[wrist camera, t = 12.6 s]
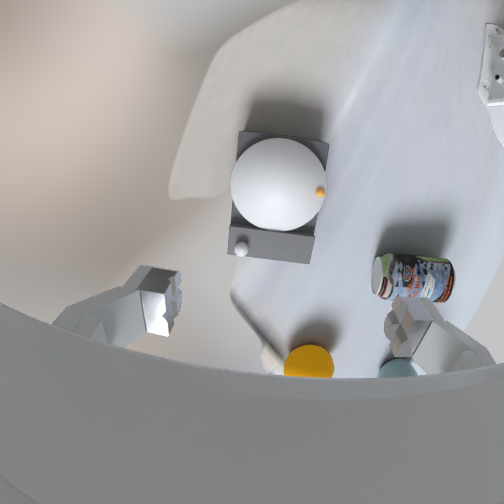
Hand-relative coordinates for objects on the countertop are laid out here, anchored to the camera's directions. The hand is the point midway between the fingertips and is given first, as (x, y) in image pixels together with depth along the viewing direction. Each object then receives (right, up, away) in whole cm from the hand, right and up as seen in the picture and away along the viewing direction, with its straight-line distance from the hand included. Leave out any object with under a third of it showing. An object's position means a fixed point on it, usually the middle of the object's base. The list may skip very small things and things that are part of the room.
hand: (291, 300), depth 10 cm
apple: (+8, -15, +34) cm, 38 cm away
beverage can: (+26, -2, +22) cm, 34 cm away
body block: (+1, +9, +22) cm, 24 cm away
